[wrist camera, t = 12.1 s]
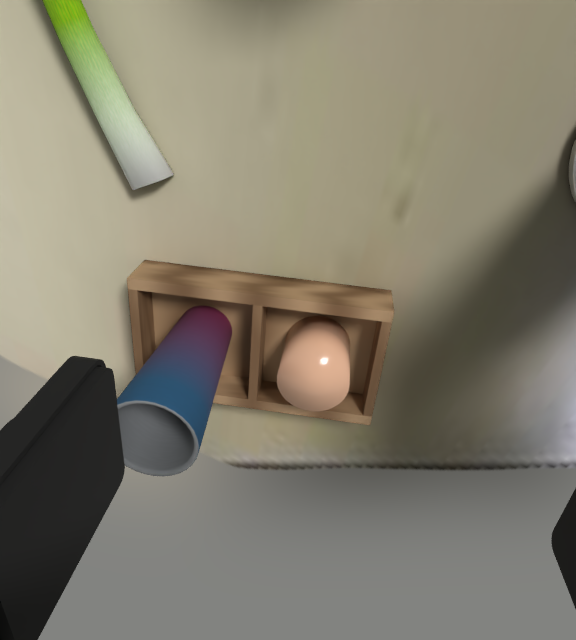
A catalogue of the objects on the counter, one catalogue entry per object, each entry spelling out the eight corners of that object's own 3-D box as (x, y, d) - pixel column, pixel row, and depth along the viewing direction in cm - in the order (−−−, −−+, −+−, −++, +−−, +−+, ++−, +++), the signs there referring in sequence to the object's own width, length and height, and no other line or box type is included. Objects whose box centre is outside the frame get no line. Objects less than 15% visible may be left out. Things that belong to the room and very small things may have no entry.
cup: (217, 370, 49) (168, 490, 36) (158, 332, 47) (84, 443, 34) (255, 324, 45) (217, 437, 32) (193, 282, 44) (127, 383, 31)
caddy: (391, 290, 43) (394, 312, 40) (369, 398, 49) (370, 425, 46) (144, 259, 44) (126, 278, 41) (152, 368, 50) (137, 392, 47)
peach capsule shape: (354, 320, 44) (354, 357, 39) (345, 374, 47) (344, 415, 42) (288, 311, 44) (279, 347, 39) (283, 366, 47) (274, 406, 42)
